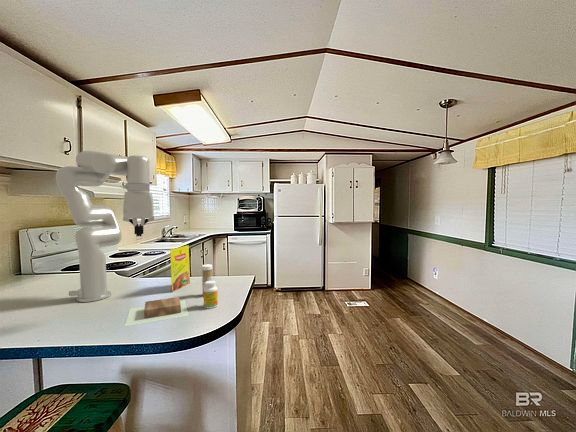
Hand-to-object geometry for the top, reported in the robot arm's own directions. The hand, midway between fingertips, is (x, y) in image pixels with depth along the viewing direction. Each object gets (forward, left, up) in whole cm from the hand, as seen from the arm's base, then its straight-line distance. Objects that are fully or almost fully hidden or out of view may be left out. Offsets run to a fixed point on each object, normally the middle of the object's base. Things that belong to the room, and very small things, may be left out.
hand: (139, 235), depth 107 cm
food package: (+16, +23, -29) cm, 40 cm away
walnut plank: (+2, -8, -27) cm, 28 cm away
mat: (+6, -8, -29) cm, 30 cm away
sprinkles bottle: (+26, +5, -29) cm, 39 cm away
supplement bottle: (+25, -10, -29) cm, 39 cm away
